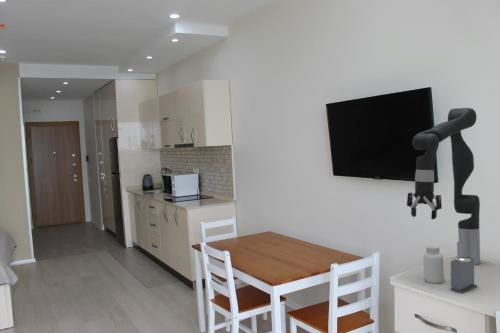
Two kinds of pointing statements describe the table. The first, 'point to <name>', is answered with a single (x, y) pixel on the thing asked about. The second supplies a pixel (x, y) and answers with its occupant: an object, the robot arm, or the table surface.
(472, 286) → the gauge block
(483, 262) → the table surface
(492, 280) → the table surface
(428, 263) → the pill bottle
